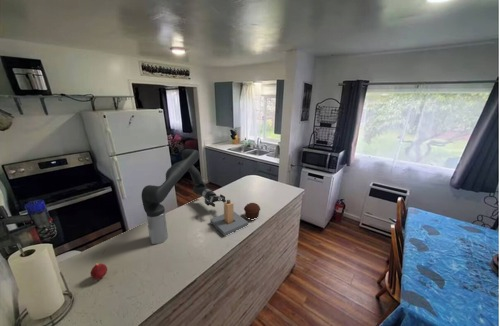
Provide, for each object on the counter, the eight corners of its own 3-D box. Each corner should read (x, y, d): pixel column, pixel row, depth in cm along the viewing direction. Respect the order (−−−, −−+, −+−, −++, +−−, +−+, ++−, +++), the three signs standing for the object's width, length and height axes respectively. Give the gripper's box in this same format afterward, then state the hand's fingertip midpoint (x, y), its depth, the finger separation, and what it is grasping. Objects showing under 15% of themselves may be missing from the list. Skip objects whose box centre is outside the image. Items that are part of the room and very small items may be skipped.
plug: (227, 227, 124) (227, 203, 119) (224, 224, 127) (223, 200, 122) (233, 224, 126) (233, 200, 121) (229, 221, 130) (229, 198, 125)
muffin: (250, 223, 128) (250, 210, 125) (240, 216, 136) (240, 203, 134) (263, 217, 136) (263, 204, 133) (253, 210, 144) (253, 198, 141)
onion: (111, 272, 89) (108, 258, 87) (102, 283, 84) (99, 268, 81) (98, 272, 89) (95, 258, 87) (89, 283, 83) (85, 268, 81)
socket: (224, 237, 115) (224, 232, 114) (210, 223, 128) (210, 219, 127) (248, 226, 125) (248, 222, 125) (232, 214, 139) (232, 210, 138)
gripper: (200, 193, 139) (210, 201, 126) (217, 188, 147) (228, 196, 135) (200, 202, 141) (211, 211, 129) (217, 197, 149) (228, 205, 137)
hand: (220, 203), depth 132 cm, fingers open, 8 cm apart
